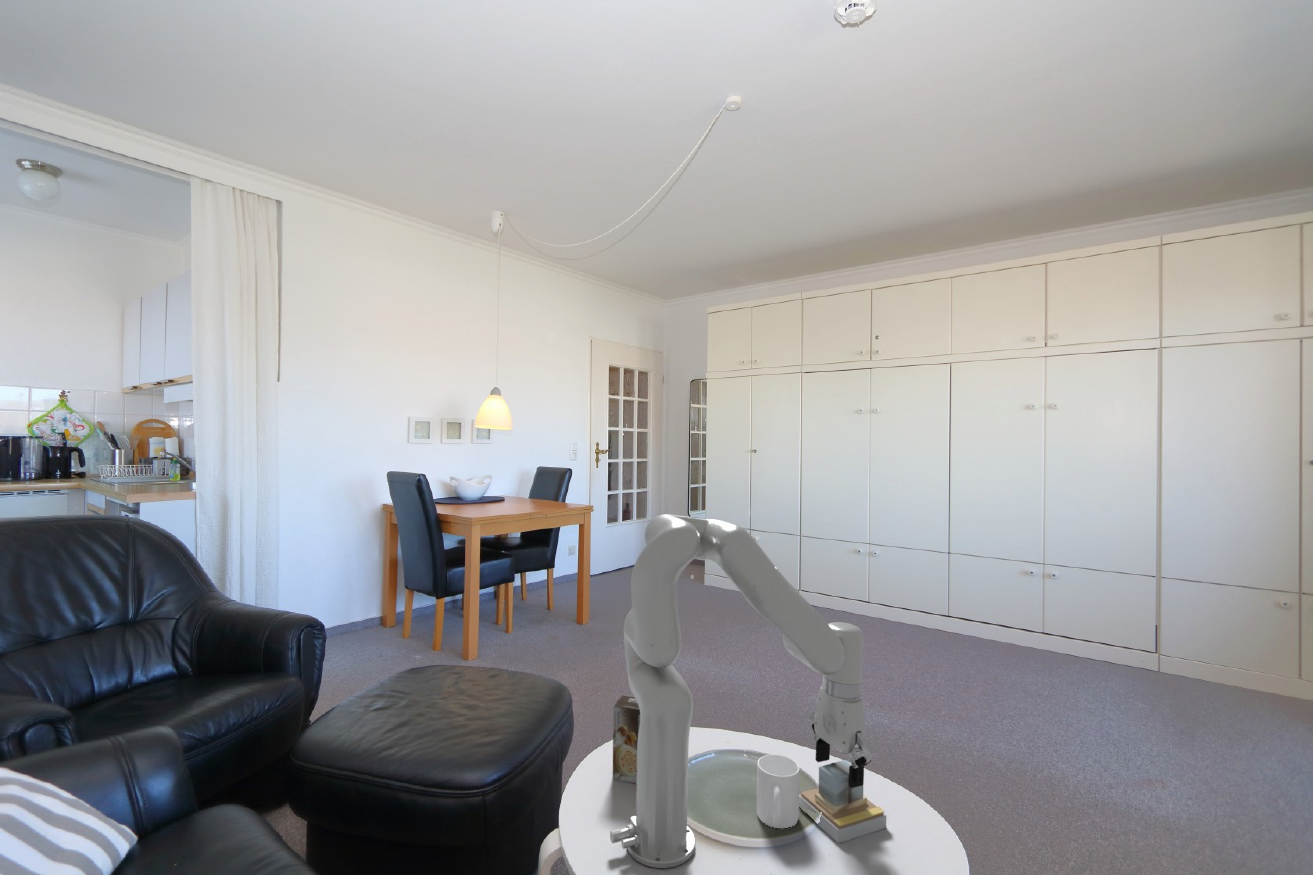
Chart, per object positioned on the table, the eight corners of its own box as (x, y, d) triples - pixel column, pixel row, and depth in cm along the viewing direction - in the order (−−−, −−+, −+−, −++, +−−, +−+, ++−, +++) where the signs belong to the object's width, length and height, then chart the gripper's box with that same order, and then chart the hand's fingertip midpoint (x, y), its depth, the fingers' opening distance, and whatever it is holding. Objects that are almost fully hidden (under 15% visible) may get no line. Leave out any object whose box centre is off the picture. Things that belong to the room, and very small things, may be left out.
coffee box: (658, 771, 130) (660, 700, 130) (650, 787, 124) (651, 712, 124) (620, 764, 133) (622, 694, 133) (610, 779, 127) (612, 705, 127)
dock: (838, 843, 107) (838, 825, 107) (797, 806, 118) (798, 790, 118) (886, 827, 112) (886, 811, 112) (843, 793, 123) (843, 778, 123)
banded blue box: (832, 814, 111) (832, 780, 111) (814, 799, 116) (814, 767, 116) (867, 803, 115) (867, 770, 115) (848, 789, 119) (849, 758, 120)
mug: (799, 846, 106) (799, 790, 106) (753, 838, 108) (754, 783, 108) (798, 808, 118) (799, 757, 118) (757, 801, 120) (758, 751, 120)
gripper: (799, 673, 122) (796, 754, 122) (858, 706, 106) (855, 800, 106) (827, 669, 125) (824, 748, 125) (888, 701, 109) (885, 793, 109)
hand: (838, 772), depth 115 cm, fingers open, 9 cm apart
